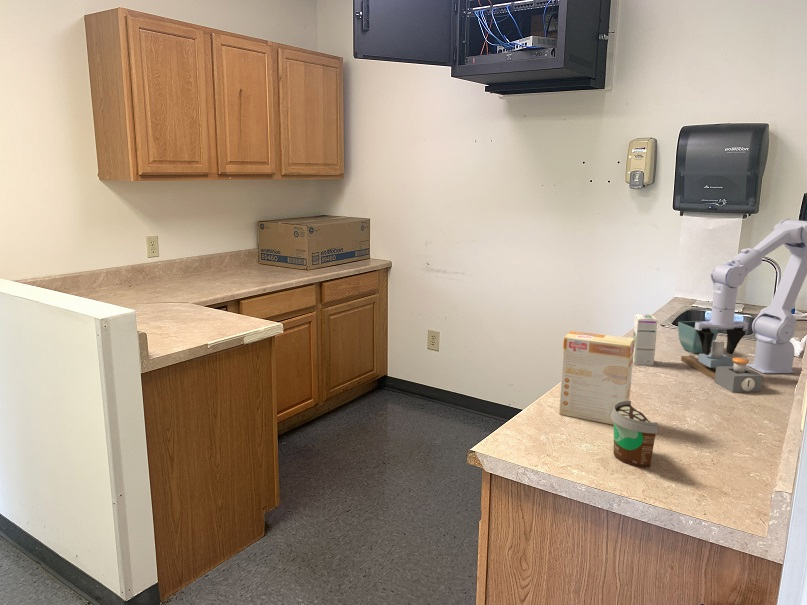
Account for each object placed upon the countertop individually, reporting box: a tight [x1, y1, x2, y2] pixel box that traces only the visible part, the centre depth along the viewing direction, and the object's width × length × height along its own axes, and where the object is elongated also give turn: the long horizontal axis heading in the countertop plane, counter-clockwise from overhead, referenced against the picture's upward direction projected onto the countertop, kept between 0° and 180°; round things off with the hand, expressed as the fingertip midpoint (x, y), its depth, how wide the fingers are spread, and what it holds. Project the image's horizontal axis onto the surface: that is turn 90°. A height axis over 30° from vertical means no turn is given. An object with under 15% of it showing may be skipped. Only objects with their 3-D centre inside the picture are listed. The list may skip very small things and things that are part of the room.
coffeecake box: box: [558, 330, 635, 426], centre depth 142 cm, size 15×7×20 cm, turn 61°
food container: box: [611, 400, 659, 469], centre depth 122 cm, size 12×6×10 cm, turn 5°
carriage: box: [698, 339, 734, 368], centre depth 172 cm, size 7×6×7 cm
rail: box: [680, 352, 716, 381], centre depth 177 cm, size 6×18×2 cm, turn 5°
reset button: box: [732, 357, 750, 374], centre depth 162 cm, size 4×4×4 cm
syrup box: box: [632, 313, 658, 367], centre depth 182 cm, size 6×6×14 cm
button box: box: [714, 366, 764, 393], centre depth 163 cm, size 8×8×4 cm
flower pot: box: [677, 320, 720, 354], centre depth 194 cm, size 9×9×9 cm
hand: (717, 353), depth 172 cm, fingers open, 7 cm apart
